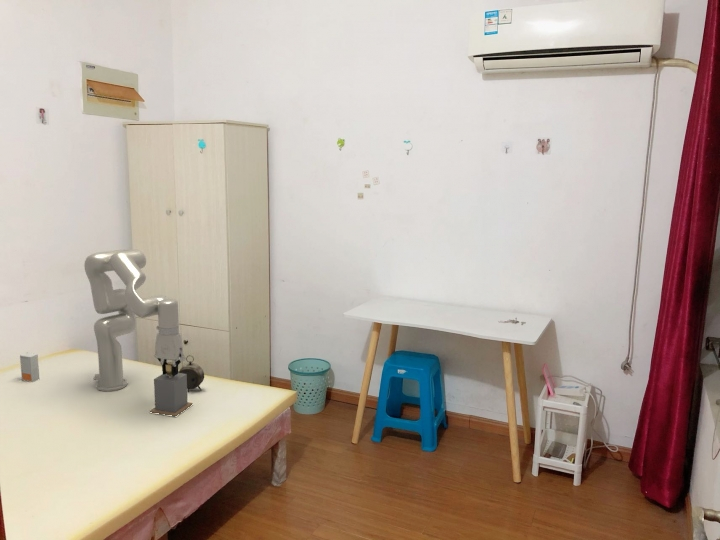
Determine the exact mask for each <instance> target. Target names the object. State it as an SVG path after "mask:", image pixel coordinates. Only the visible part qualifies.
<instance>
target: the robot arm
mask: <svg viewBox="0 0 720 540" xmlns="http://www.w3.org/2000/svg"><path fill="white" fill-rule="evenodd" d="M146 264H147V258H146V256H145V254H144V252H142V251H141V250H139V249H118V250H110V251H101V252H96V253H91V254H90V255H88V256H87V257H86V258H85V260H84V264H83V266H84V272H85V275H86V278H87V279H88V281H89V284H90V290H91V296H92V303H93V306H94V310H95V312H96V313H97V314H99V315H107V314H110V313H115V312H118V314H113V315H112V314H111V315H107V316H104V317H101V318H99V319H97V320H96V321H95V322H94V325H93V331H94V336H95V338H96V345H97V357H98V359H97V361H98V373H99V374H98V373H95V374H94V376H93V379H92V380H93V381H97V383H96V385H95V386H96V387H95V388H96V390H99V391H100V392H101V391H102V392H113V391H117V390H121V389H123V388H125V387H127V385H128V381H127V379H124V368H123V367H124V366H123V351H122V344H121V343H120V341H118V340H117V338H118V337H121V336H124V335H127V334H128V335H129V334H131V333H133V332H134V331H135V330H136V327H137V321H136V317H138V318H140V319H146V318H149V317H153V316H157V320H158V325H157V326H156V330H158V332H157V333H156V339H155V344H154V345H155V346H154V355H153V357H154V358H155V359H157V360H158V362H159V363H160V365H161V371H162V374H163V375H165V374H166V370H165V364H166V363H168V360H170V361H171V362H173V366H172V376H175V375H177V374H178V371H179V365H180V364H181V363H182V362H184V361H186V356H185V355H184V348H183V347H184V346H183V340H182V339H183V338H182V336H181V335H182V334H181V333H180V325H179V324H180V323H179V303H178V300H176V299H174V298H169V297H167V296H166V295H163V294H158V295H153V296H148V297H143V298H142V297H140V296H139V295H138V293H137V292H136V290H137V289H140V287H142V285H144V283H145V281H146V279H147V275H146V274H145V273H144V271H143V270H142V269H143V268H145V266H146ZM106 272H115V274H116V275H117V276H118V277H119V278H120V280H121V281H122V282H123V284H124V285H125V286H126V287H125V289H124V288H117V289H114V288H113V282H112V279H111V278H110V277H109V275H108V274H107V273H106Z"/></svg>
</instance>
